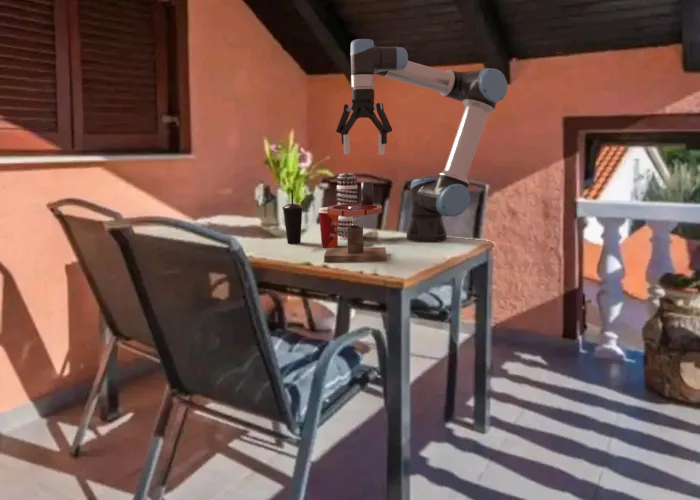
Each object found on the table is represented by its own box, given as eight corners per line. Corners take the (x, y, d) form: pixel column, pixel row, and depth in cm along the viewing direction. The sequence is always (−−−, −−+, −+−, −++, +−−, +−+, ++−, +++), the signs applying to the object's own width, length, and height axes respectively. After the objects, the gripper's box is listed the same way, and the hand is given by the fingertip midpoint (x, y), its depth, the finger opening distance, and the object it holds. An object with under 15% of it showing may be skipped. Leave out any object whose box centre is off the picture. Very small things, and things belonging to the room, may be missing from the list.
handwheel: (381, 225, 229) (381, 181, 226) (382, 233, 212) (381, 186, 209) (330, 225, 230) (329, 182, 227) (326, 234, 212) (325, 187, 210)
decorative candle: (343, 240, 255) (342, 174, 250) (332, 237, 263) (330, 173, 258) (364, 238, 259) (363, 173, 254) (352, 235, 267) (351, 172, 262)
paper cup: (337, 248, 239) (336, 209, 236) (316, 248, 240) (315, 209, 238) (342, 244, 246) (341, 206, 244) (322, 244, 248) (321, 206, 245)
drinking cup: (285, 241, 256) (283, 188, 252) (305, 241, 255) (303, 188, 252) (282, 244, 248) (280, 191, 244) (303, 244, 248) (301, 190, 244)
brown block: (385, 253, 229) (385, 224, 227) (386, 261, 215) (386, 230, 213) (327, 253, 230) (326, 224, 228) (324, 262, 216) (323, 231, 214)
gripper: (402, 87, 216) (402, 153, 220) (337, 90, 229) (339, 153, 233) (390, 86, 210) (391, 155, 214) (324, 90, 223) (326, 154, 227)
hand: (364, 154), depth 223 cm, fingers open, 13 cm apart
